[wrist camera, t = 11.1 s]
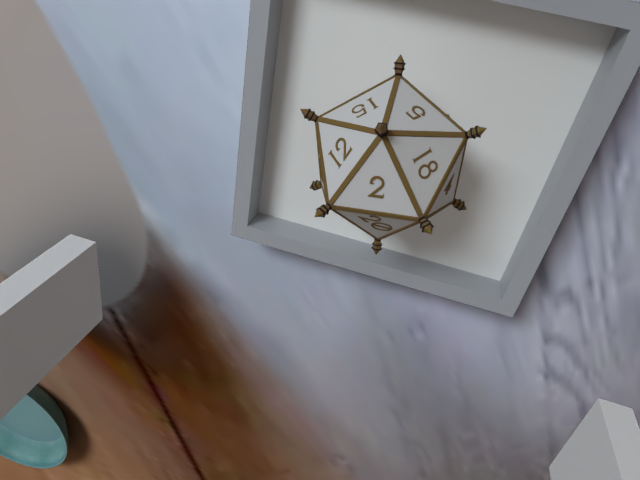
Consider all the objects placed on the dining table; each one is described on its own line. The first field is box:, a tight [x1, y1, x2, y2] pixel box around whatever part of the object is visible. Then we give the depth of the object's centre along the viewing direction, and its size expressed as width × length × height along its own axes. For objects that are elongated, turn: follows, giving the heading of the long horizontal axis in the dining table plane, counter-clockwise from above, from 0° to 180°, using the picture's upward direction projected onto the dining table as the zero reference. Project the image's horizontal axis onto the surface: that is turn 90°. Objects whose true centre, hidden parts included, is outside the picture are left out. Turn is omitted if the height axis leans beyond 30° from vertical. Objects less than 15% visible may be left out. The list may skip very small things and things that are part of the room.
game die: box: [300, 54, 487, 254], centre depth 24 cm, size 9×8×10 cm
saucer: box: [0, 385, 68, 469], centre depth 54 cm, size 15×15×3 cm
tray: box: [231, 0, 640, 318], centre depth 27 cm, size 17×18×3 cm
